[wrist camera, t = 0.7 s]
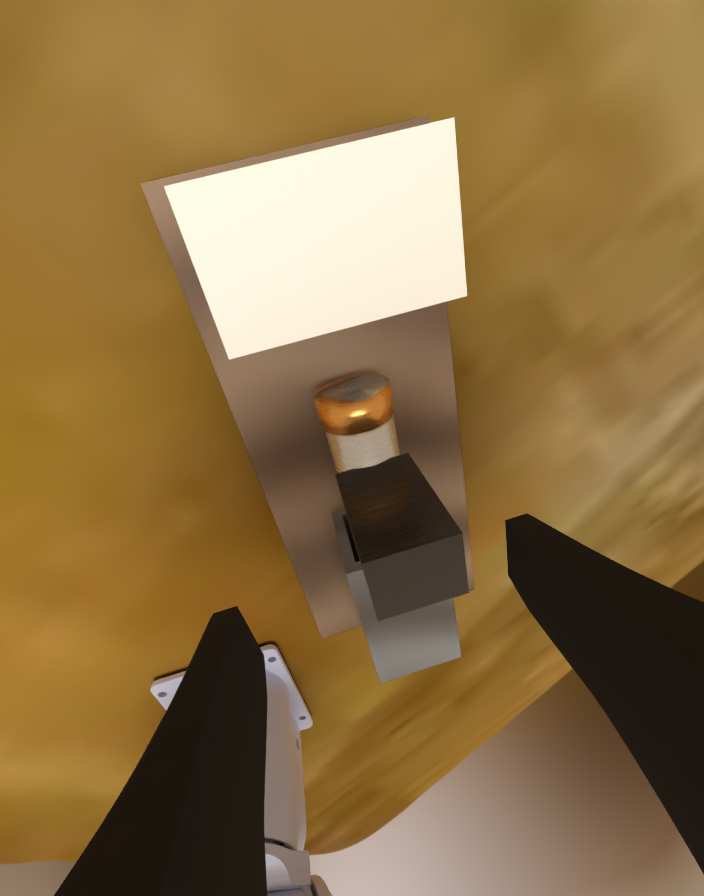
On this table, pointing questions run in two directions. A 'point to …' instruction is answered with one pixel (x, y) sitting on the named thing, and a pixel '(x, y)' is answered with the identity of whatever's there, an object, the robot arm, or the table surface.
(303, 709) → the robot arm
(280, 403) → the track base
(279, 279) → the socket block
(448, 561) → the dark grey angular piece
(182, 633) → the table surface
